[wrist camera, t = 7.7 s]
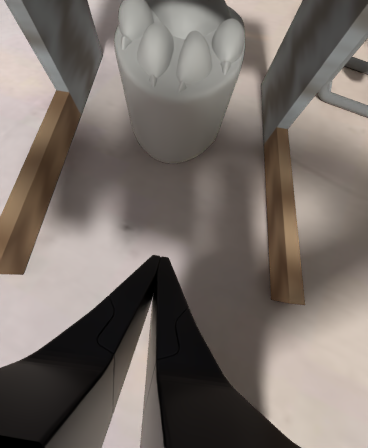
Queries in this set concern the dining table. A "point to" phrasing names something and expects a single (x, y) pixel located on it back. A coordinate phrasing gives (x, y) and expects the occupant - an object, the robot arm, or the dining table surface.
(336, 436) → the dining table surface
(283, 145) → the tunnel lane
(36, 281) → the dining table surface
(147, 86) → the grey animal paw
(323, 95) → the newton's cradle
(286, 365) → the dining table surface
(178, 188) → the dining table surface
